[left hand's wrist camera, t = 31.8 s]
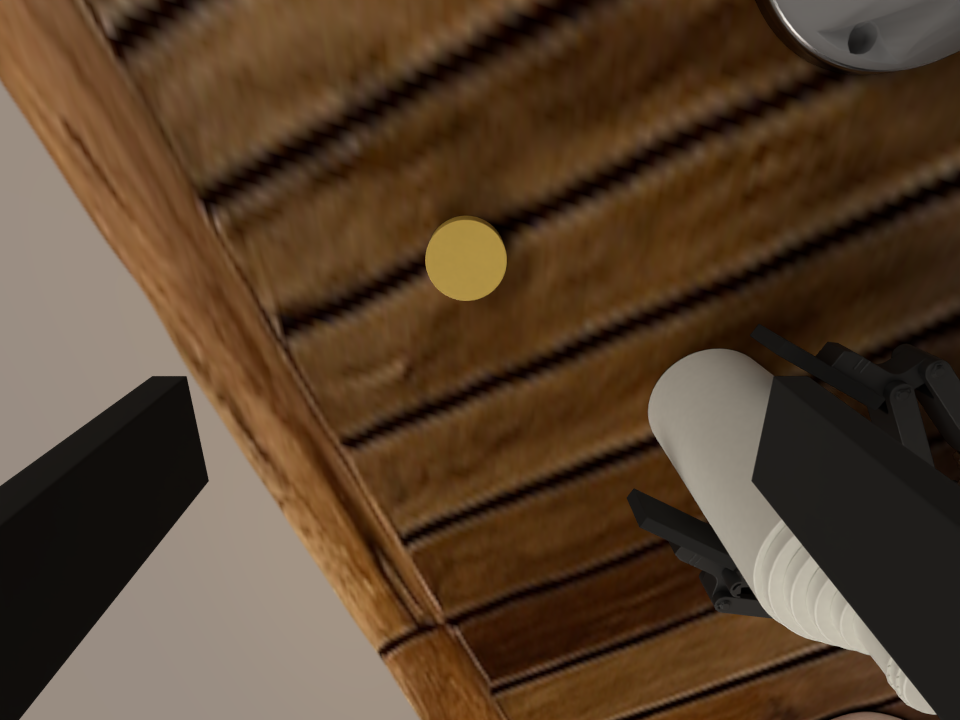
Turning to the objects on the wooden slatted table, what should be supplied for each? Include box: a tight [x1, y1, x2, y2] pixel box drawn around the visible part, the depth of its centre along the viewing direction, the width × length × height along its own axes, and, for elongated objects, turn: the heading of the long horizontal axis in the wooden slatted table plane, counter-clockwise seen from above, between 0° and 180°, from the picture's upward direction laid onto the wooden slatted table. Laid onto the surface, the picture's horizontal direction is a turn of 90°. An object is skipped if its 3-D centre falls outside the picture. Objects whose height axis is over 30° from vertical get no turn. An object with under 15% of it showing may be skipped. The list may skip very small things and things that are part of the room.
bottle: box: [648, 349, 937, 715], centre depth 27 cm, size 8×8×20 cm
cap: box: [425, 216, 507, 301], centre depth 32 cm, size 5×5×2 cm
